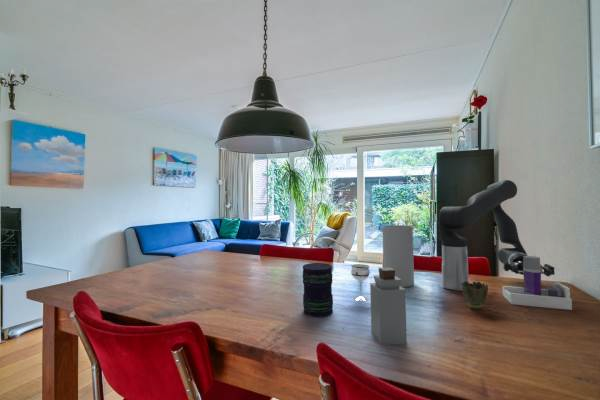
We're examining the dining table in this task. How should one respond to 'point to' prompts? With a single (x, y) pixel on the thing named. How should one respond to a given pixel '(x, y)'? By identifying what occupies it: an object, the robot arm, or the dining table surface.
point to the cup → (475, 294)
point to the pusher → (554, 291)
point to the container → (532, 275)
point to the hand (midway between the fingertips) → (532, 272)
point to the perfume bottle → (388, 308)
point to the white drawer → (539, 297)
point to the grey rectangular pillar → (399, 252)
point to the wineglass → (360, 277)
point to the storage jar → (317, 289)
